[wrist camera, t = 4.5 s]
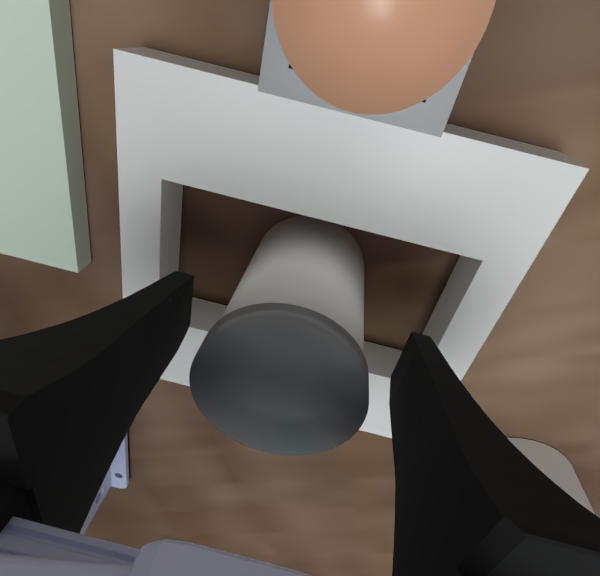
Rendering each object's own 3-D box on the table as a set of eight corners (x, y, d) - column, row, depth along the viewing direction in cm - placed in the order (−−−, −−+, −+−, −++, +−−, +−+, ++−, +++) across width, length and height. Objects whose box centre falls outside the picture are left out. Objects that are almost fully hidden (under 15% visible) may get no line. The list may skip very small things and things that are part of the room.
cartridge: (349, 325, 18) (341, 471, 12) (245, 298, 18) (184, 431, 12) (384, 229, 15) (395, 353, 9) (262, 198, 16) (195, 302, 9)
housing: (416, 411, 20) (424, 465, 18) (145, 342, 20) (114, 385, 18) (667, -41, 11) (762, -65, 8) (145, -171, 11) (76, -236, 8)
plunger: (422, 106, 13) (444, 135, 9) (288, 73, 13) (256, 88, 9) (483, -72, 11) (549, -131, 7) (320, -113, 11) (294, -196, 7)
